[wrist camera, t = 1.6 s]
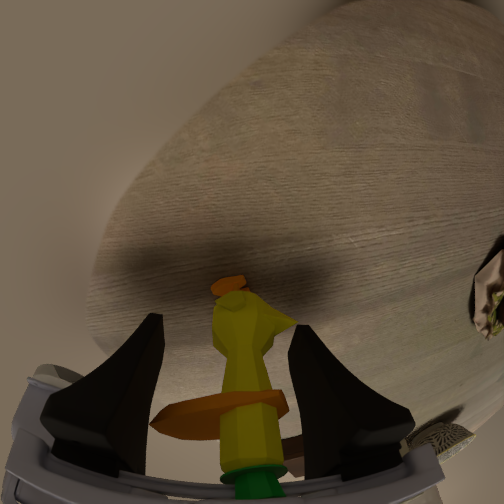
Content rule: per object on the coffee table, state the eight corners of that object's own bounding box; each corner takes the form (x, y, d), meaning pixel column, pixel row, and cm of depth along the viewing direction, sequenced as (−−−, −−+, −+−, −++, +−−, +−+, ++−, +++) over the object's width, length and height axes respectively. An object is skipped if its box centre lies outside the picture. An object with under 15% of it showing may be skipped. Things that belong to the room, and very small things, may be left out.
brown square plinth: (275, 441, 26) (278, 462, 24) (333, 425, 26) (339, 446, 23) (292, 461, 31) (295, 477, 28) (339, 448, 30) (343, 465, 28)
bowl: (390, 439, 32) (403, 475, 26) (468, 394, 30) (486, 425, 23) (390, 458, 39) (399, 485, 32) (453, 424, 37) (465, 448, 30)
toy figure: (191, 326, 17) (172, 511, 7) (164, 284, 16) (109, 489, 5) (291, 294, 16) (347, 493, 6) (273, 245, 15) (337, 478, 4)
